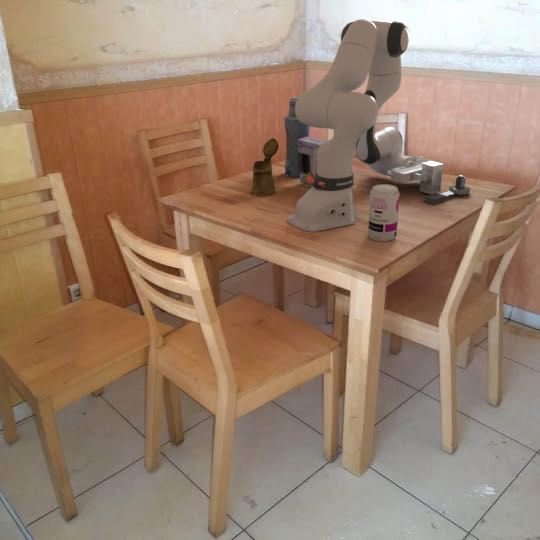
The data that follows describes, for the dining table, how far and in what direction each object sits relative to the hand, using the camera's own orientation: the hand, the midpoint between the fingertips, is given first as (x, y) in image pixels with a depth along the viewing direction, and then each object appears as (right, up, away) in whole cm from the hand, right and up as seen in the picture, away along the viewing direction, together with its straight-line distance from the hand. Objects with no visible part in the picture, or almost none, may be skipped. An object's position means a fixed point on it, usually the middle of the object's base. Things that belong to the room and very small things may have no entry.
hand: (433, 176), depth 194 cm
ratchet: (+5, -7, -1) cm, 9 cm away
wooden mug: (-58, -3, +13) cm, 60 cm away
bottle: (-46, +6, +30) cm, 55 cm away
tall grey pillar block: (0, -5, +3) cm, 6 cm away
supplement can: (-24, -23, -30) cm, 45 cm away
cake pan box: (-39, -2, +13) cm, 42 cm away
